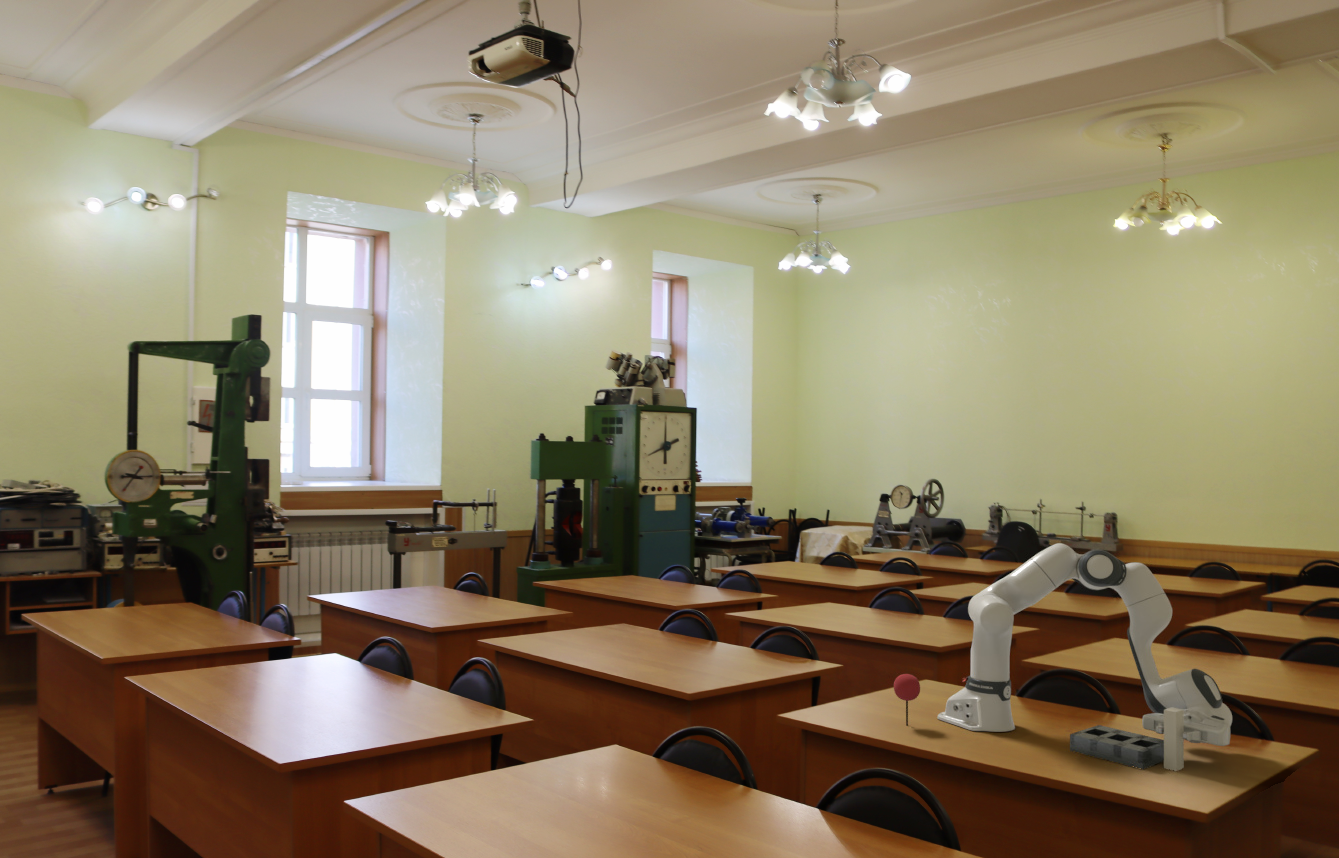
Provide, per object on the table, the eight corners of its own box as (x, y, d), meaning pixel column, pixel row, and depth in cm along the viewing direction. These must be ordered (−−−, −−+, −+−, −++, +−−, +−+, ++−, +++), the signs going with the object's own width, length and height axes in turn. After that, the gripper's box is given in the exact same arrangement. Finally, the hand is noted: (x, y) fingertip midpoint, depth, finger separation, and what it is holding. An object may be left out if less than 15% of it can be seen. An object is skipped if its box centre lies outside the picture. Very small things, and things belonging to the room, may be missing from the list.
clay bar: (1176, 771, 242) (1175, 712, 243) (1163, 768, 245) (1163, 709, 245) (1183, 767, 245) (1183, 709, 246) (1171, 764, 247) (1171, 707, 248)
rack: (1142, 769, 243) (1142, 751, 243) (1069, 750, 258) (1070, 734, 259) (1170, 758, 253) (1170, 741, 253) (1098, 740, 268) (1098, 724, 269)
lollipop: (917, 722, 285) (918, 671, 285) (921, 729, 277) (922, 677, 278) (891, 721, 285) (892, 670, 286) (895, 728, 278) (895, 676, 278)
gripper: (1155, 704, 262) (1131, 712, 253) (1236, 721, 246) (1213, 730, 237) (1155, 727, 261) (1131, 736, 253) (1236, 746, 245) (1213, 755, 237)
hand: (1172, 733), depth 245 cm, fingers open, 5 cm apart
